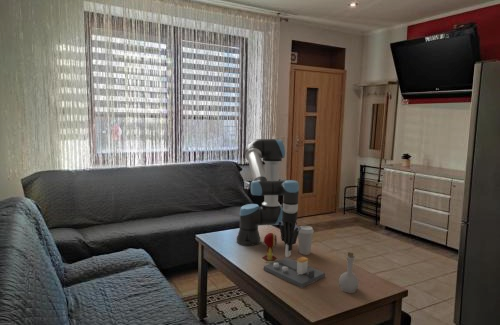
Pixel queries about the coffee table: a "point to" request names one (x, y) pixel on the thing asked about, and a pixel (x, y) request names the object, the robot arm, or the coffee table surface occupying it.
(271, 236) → the figurine
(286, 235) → the robot arm
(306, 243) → the coffee cup
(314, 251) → the coffee table surface
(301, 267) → the block
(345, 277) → the potion bottle
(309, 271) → the console
